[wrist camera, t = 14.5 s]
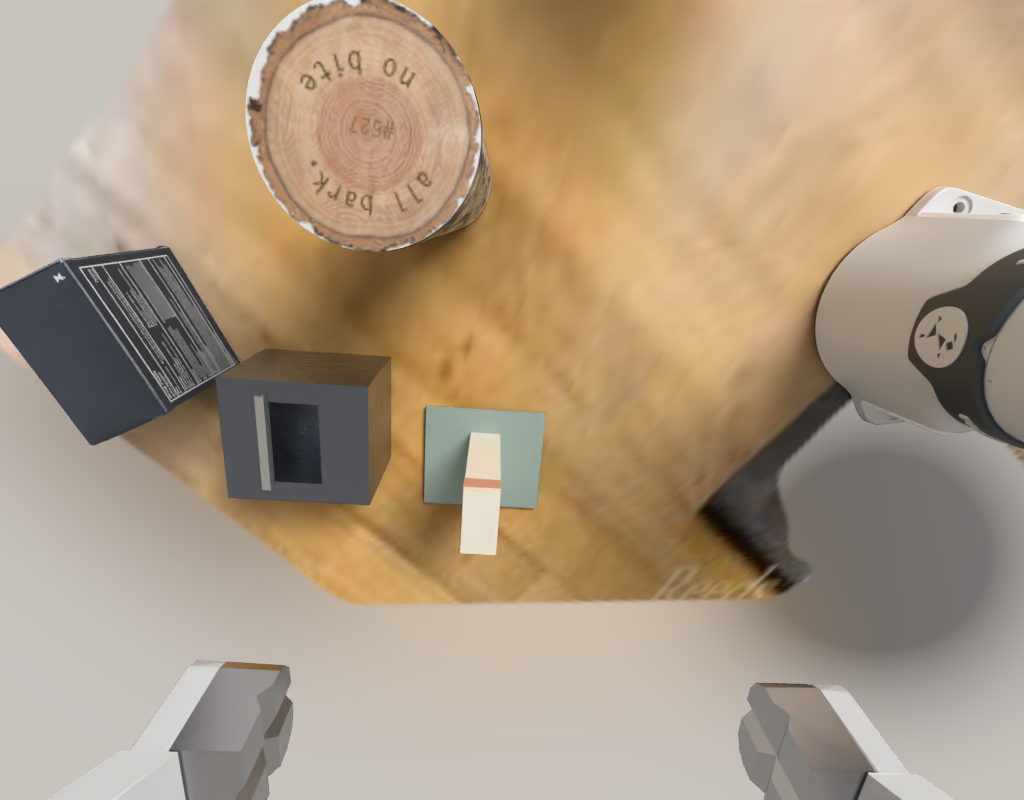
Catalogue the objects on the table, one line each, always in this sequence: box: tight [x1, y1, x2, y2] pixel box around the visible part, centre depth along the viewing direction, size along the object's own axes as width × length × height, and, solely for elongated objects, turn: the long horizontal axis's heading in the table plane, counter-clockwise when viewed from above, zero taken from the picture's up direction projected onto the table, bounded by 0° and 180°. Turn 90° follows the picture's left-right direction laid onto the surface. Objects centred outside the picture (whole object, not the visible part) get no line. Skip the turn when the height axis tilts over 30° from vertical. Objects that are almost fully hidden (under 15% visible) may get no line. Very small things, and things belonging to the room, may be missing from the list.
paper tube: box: [245, 0, 491, 252], centre depth 27 cm, size 7×7×25 cm
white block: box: [460, 432, 501, 555], centre depth 41 cm, size 3×5×10 cm, turn 176°
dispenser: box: [215, 349, 391, 505], centre depth 41 cm, size 10×9×8 cm
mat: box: [424, 406, 546, 508], centre depth 46 cm, size 10×9×1 cm
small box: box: [0, 246, 240, 445], centre depth 37 cm, size 11×6×10 cm, turn 23°
